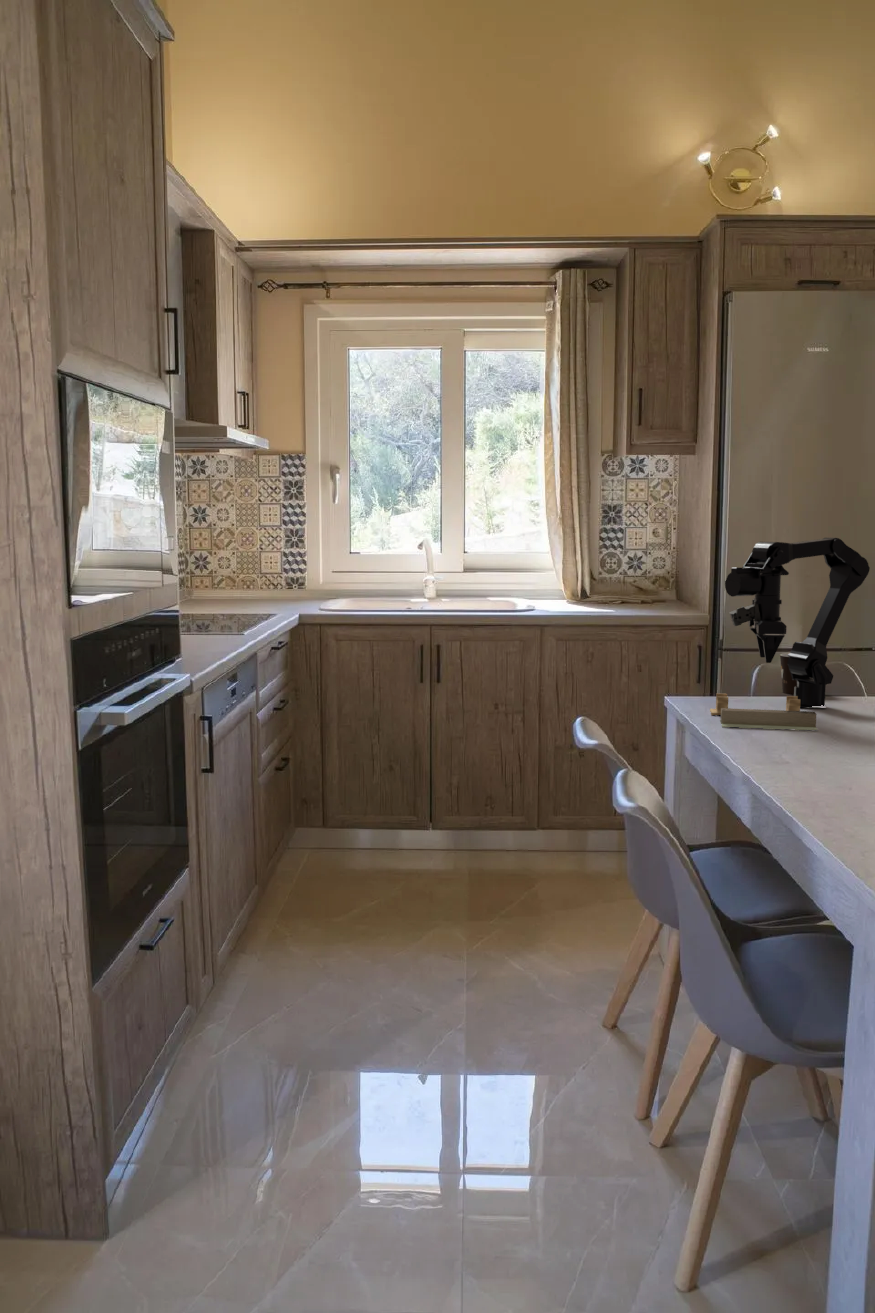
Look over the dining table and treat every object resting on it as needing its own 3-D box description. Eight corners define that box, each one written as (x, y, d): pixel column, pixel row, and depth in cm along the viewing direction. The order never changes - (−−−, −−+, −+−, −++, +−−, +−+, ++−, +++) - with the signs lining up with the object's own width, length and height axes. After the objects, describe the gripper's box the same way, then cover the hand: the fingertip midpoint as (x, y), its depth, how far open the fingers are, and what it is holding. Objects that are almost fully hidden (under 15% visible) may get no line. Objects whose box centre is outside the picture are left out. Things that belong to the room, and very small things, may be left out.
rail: (813, 724, 223) (814, 711, 222) (815, 727, 220) (816, 713, 220) (720, 721, 227) (720, 708, 226) (721, 723, 224) (721, 710, 224)
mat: (812, 724, 225) (812, 723, 225) (817, 731, 218) (817, 729, 218) (720, 721, 229) (720, 719, 229) (722, 727, 222) (722, 725, 222)
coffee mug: (806, 696, 261) (808, 658, 260) (773, 693, 266) (775, 655, 265) (820, 690, 270) (822, 653, 269) (788, 687, 276) (789, 651, 274)
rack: (801, 714, 237) (802, 696, 236) (805, 719, 231) (806, 700, 231) (709, 711, 241) (710, 692, 240) (711, 715, 236) (712, 696, 235)
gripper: (727, 591, 249) (726, 654, 251) (737, 598, 230) (735, 665, 232) (774, 591, 247) (772, 654, 249) (787, 598, 228) (785, 666, 231)
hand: (765, 660), depth 240 cm, fingers open, 9 cm apart
